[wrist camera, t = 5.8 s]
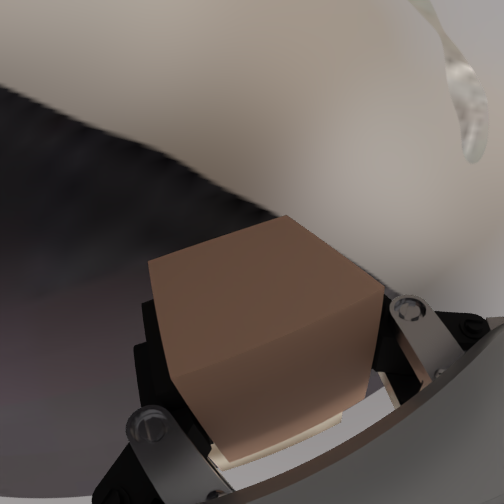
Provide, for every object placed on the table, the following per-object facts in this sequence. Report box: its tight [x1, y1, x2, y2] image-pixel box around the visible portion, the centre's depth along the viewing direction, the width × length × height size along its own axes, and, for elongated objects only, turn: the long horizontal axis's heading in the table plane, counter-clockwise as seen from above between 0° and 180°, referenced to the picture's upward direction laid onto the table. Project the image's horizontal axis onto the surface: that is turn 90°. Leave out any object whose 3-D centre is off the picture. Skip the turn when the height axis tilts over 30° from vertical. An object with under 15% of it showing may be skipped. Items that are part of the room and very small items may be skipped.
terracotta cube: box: [148, 215, 385, 463], centre depth 9 cm, size 5×5×5 cm
